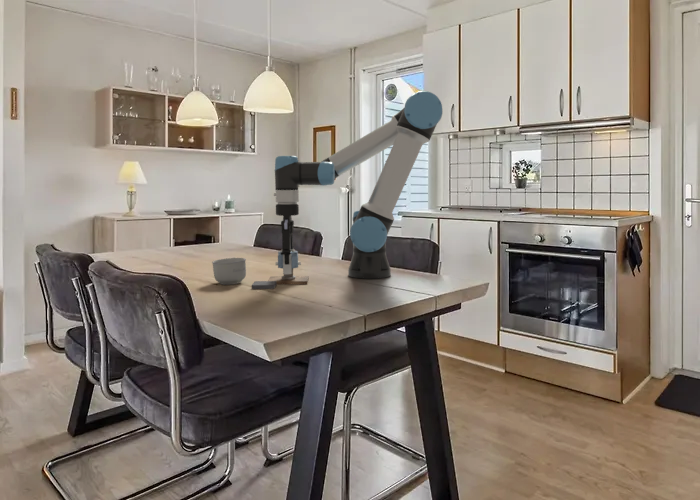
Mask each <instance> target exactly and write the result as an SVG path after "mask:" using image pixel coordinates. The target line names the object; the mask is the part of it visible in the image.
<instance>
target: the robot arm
mask: <svg viewBox="0 0 700 500" xmlns="http://www.w3.org/2000/svg"><path fill="white" fill-rule="evenodd" d="M442 116H443V104H442V102H441V100H440V98H439V97H438V96H437V95H436V94H435V93H433V92H431V91H427V90H420V91H417V92H414V93H413V94H411V95H410V96H409V97H408V98H407V99H406V101H405V103H404V107H403V108H402V109H401V110H400V111H398V112H397V113H395V114H393V115H392V116H391V119H390V120H389V121H387V122H386V123H384V124H383V125H381V126H379V127H378V128H376V129H374V130H373V131H371V132H369V133H367V134H366V135H364V136H363V137H361V138H359V139H357V140H355V141H354V142H352V143H350V144H348V145H347V146H345V147H344V148H342V149H341V150H339V151H337V152H336V153H335V152H334V153H333V154H332V155H330V156H328V157H326V158H325V159H323V160H321V161H307V162H305V161H304V162H303V161H299V158H298V156H296V155H277V157H276V158H275V161H274V162H275V164H274V179H275V180H274V181H275V183H274V184H275V186H274V187H275V193H273V196H274V197H275V202H276V203H277V204H275V215H276V216H279V217H280V216H281V217H282V220H281V221H280V227H281V236H282V239H281V241H282V242H281V243H282V245H281V247H282V248H281V250H282V252H281V255H283V269H282V274H283V275H284V274H292V265H291V250H295V251H296V248H294V234H293V233H294V225H295V222H294V220H292V217H293V216H298V215H299V211H300V209H299V204H298V203H299V201H300V199H299V186H332V185H333V184H334V183H335V179H336V178H338V177H340V176H342V175H343V174H345V173H347V172H349V171H350V170H352V169H355V167H357V166H359V165H361V164H362V163H364V162H366V161H367V160H369V159H371V158H372V157H374V156H376V155H378V154H380V153H381V152H383V151H385V150H386V149H388V148H390V147H391V149H390V152H389V154H388V156H387V159H386V160H385V163H384V165H383V168H382V170H381V171H380V174H379V176H378V179H377V182H376V183H375V186H374V187H373V190H372V193H371V195H370V197H369V200H368V202H366V203H363V204H362V205H361V206H360V208H359V210H356V211H354V212H353V215H352V224H351V227H350V231H349V237H350V240H351V242H352V246H353V247H352V248H353V249H352V256H351V261H350V262H349V266H348V270H347V271H348V272H347V273H348V276H349V277H350V278H355V279H356V278H357V279H368V280H369V279H371V280H372V279H374V280H375V279H383V278H384V279H385V278H388V277H391V266H390V263H389V261H388V256H387V245H386V244H387V238H388V235H389V232H390V231H391V230H390V229H391V228H392V225H393V224H394V222H395V221H394V220H395V217H394V214H393V212H394V209H395V207H396V205H397V204H398V201H399V199H400V196H401V194H402V193H403V192H402V191H403V189H404V187H405V184H406V183H407V181H408V178H409V176H410V174H411V171H412V169H413V167H414V165H415V163H416V160H417V157H418V155H419V153H420V151H421V149H422V147H423V145H424V144H427V143H429V142H430V141H431V138H432V136H433V134H434V132H435V129H436V127H437V124H439V122H440V121H441V119H442Z"/></svg>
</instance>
